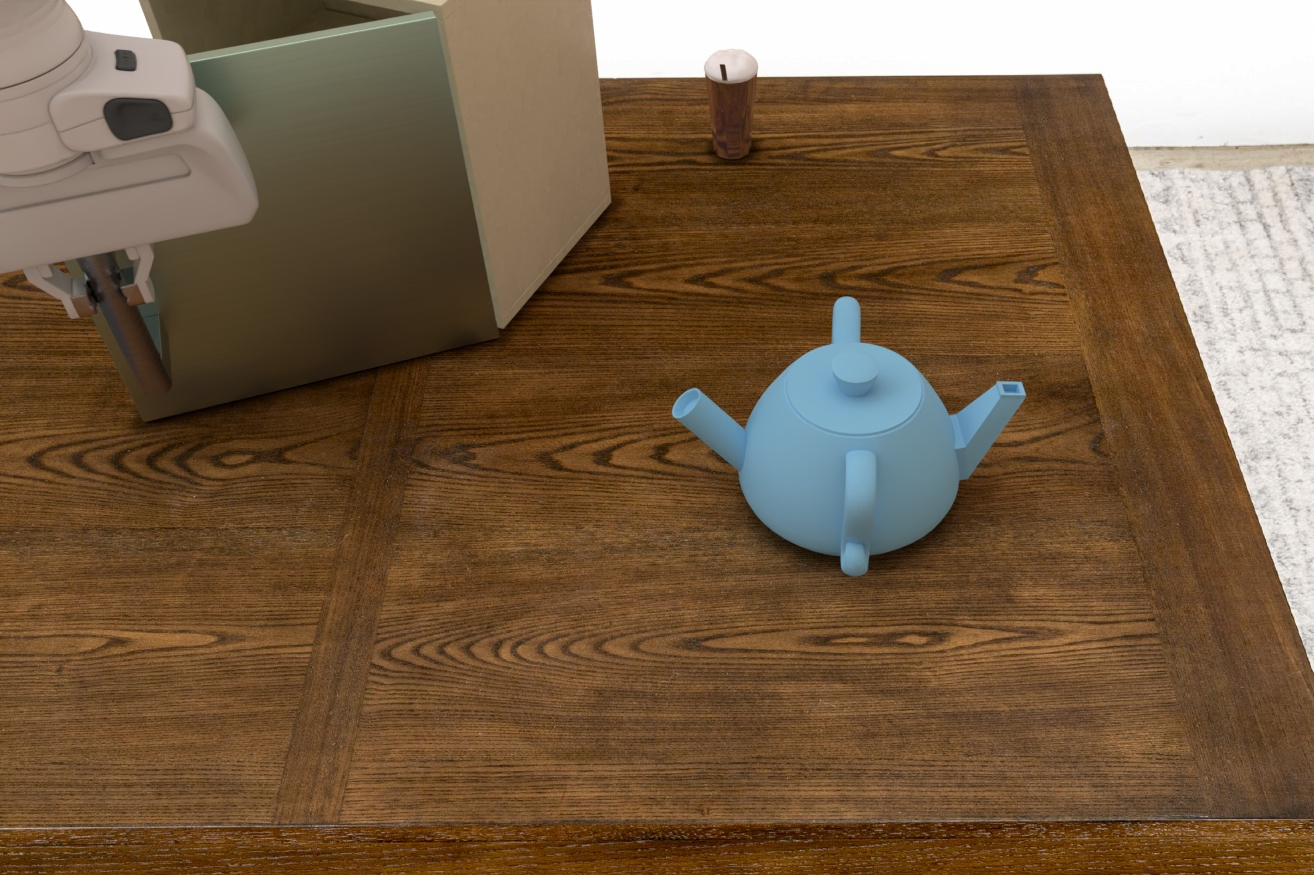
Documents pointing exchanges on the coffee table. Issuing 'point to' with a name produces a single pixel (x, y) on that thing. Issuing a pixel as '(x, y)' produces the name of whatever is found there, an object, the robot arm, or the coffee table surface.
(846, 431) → the teapot
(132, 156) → the robot arm
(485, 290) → the fridge door
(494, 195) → the box
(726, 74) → the milkshake
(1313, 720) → the coffee table surface
